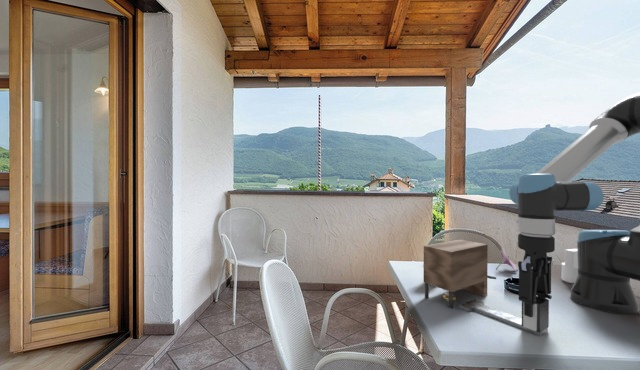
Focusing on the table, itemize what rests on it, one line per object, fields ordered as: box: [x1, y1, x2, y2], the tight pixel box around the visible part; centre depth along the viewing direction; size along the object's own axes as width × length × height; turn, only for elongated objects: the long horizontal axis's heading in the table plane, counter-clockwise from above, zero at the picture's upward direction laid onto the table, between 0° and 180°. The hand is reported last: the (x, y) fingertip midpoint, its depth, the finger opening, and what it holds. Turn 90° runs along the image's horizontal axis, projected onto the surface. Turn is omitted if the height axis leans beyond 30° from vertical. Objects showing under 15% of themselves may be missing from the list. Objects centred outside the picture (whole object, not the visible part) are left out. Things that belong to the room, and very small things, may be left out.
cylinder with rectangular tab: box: [561, 248, 578, 284], centre depth 111 cm, size 9×9×12 cm
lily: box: [495, 245, 518, 274], centre depth 124 cm, size 12×12×10 cm
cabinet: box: [423, 239, 489, 309], centre depth 96 cm, size 10×20×17 cm, turn 122°
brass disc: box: [442, 292, 457, 302], centre depth 94 cm, size 4×4×1 cm
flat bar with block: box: [458, 295, 550, 337], centre depth 81 cm, size 20×8×8 cm, turn 32°
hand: (535, 325), depth 74 cm, fingers closed on flat bar with block, 5 cm apart
